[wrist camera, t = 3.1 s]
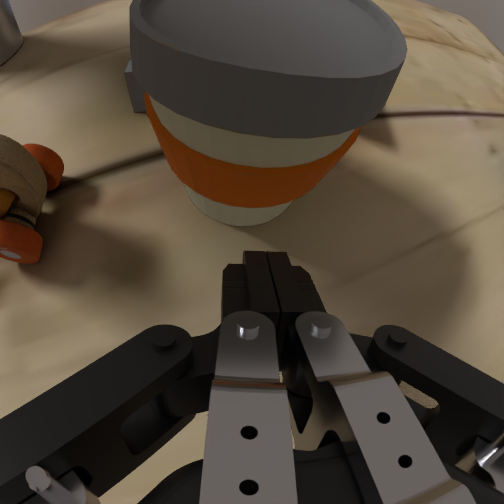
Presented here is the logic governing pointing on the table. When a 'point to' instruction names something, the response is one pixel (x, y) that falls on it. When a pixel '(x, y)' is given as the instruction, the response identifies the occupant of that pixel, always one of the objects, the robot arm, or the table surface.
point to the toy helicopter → (24, 196)
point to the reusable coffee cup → (260, 93)
